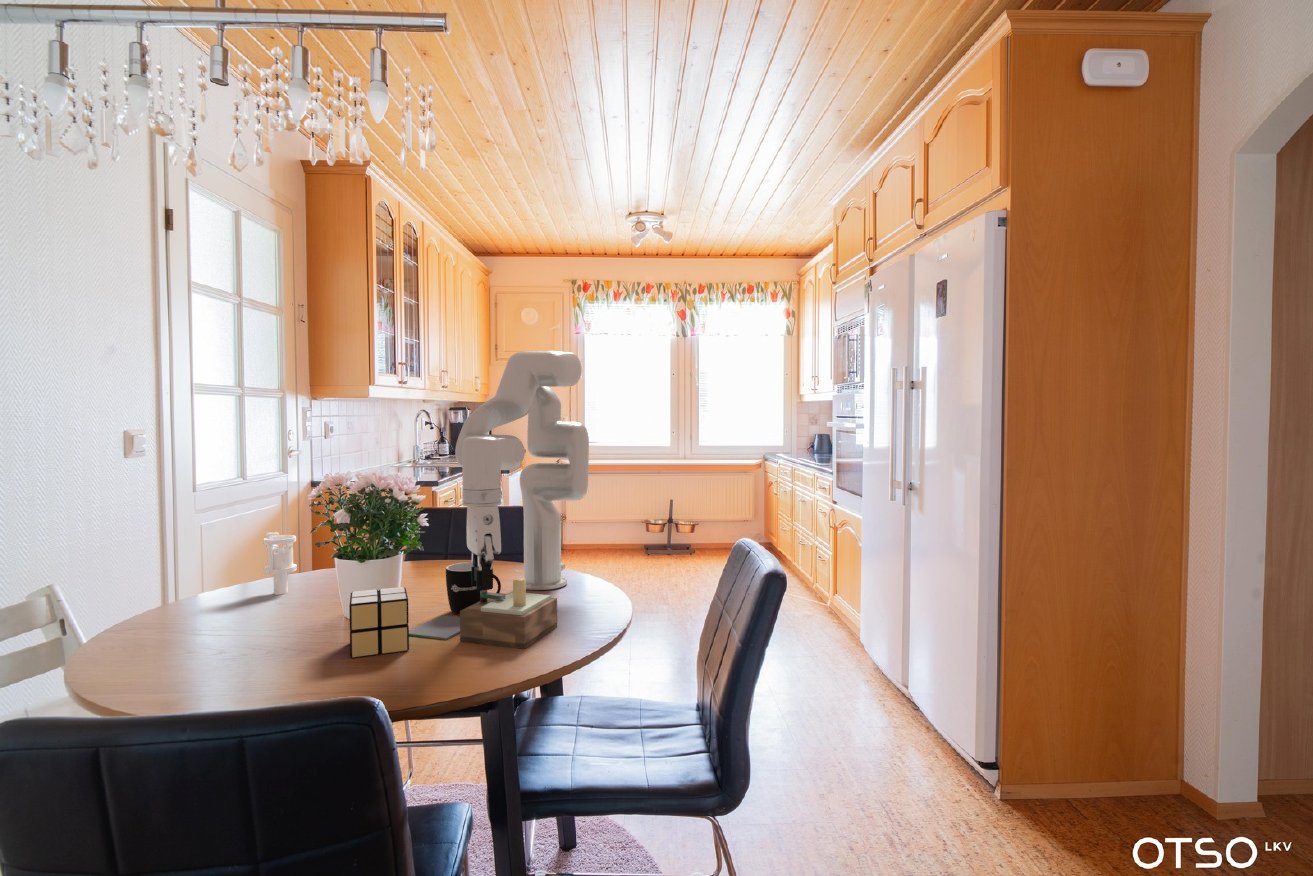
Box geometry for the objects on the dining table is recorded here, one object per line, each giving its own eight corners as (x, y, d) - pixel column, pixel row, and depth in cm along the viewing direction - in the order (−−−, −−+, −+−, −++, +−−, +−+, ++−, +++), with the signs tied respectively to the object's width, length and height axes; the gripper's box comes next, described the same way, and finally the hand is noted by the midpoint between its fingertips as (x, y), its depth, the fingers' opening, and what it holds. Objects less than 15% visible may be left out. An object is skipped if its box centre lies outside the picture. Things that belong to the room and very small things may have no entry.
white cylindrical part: (279, 588, 171) (278, 530, 170) (303, 590, 169) (302, 531, 169) (257, 596, 164) (256, 534, 163) (282, 597, 163) (281, 535, 162)
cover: (511, 595, 142) (511, 568, 142) (550, 599, 139) (550, 571, 139) (480, 611, 130) (480, 581, 130) (522, 615, 128) (522, 585, 128)
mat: (442, 616, 147) (442, 614, 147) (482, 620, 144) (482, 619, 144) (403, 635, 135) (403, 633, 135) (446, 640, 132) (446, 638, 132)
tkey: (487, 598, 139) (487, 563, 139) (509, 602, 137) (509, 565, 136) (474, 603, 136) (474, 566, 135) (496, 607, 133) (496, 569, 133)
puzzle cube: (351, 642, 131) (350, 591, 130) (406, 635, 135) (405, 586, 134) (350, 659, 121) (349, 604, 121) (409, 651, 125) (408, 598, 125)
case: (497, 620, 144) (497, 593, 144) (557, 626, 140) (557, 598, 140) (460, 641, 131) (459, 610, 131) (524, 649, 127) (524, 617, 127)
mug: (442, 617, 146) (442, 571, 146) (449, 606, 155) (449, 562, 155) (499, 615, 148) (498, 569, 148) (502, 604, 157) (502, 561, 157)
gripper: (511, 500, 131) (512, 594, 131) (489, 492, 145) (490, 577, 146) (472, 502, 127) (473, 599, 128) (454, 494, 142) (454, 581, 142)
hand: (482, 586), depth 137 cm, fingers closed on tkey, 3 cm apart
